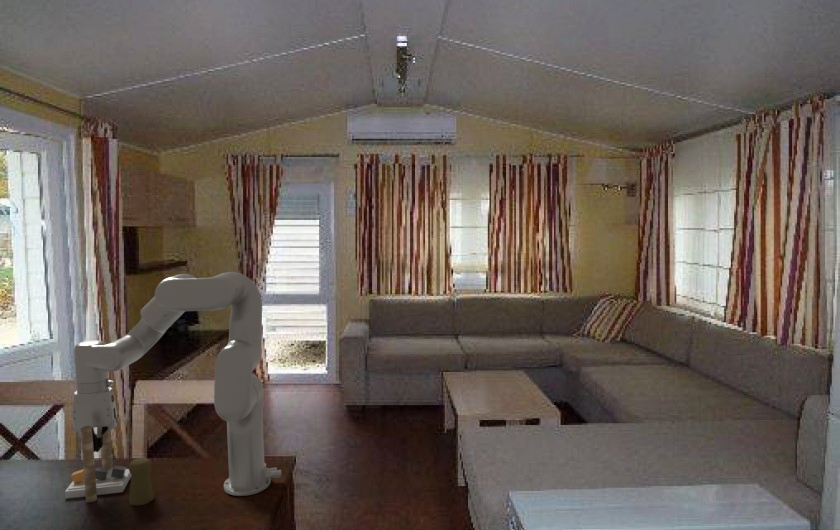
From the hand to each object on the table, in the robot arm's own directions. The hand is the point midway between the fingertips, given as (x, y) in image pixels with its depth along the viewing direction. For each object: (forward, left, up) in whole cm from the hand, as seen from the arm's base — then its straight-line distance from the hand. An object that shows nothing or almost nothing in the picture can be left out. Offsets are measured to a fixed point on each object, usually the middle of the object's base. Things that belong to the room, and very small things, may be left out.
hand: (96, 450), depth 157 cm
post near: (0, +8, -11) cm, 13 cm away
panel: (0, 0, -11) cm, 11 cm away
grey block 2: (-5, 0, -9) cm, 10 cm away
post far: (0, -7, -11) cm, 13 cm away
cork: (-13, +11, -11) cm, 20 cm away
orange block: (+4, 0, -9) cm, 10 cm away
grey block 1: (0, 0, -9) cm, 9 cm away
